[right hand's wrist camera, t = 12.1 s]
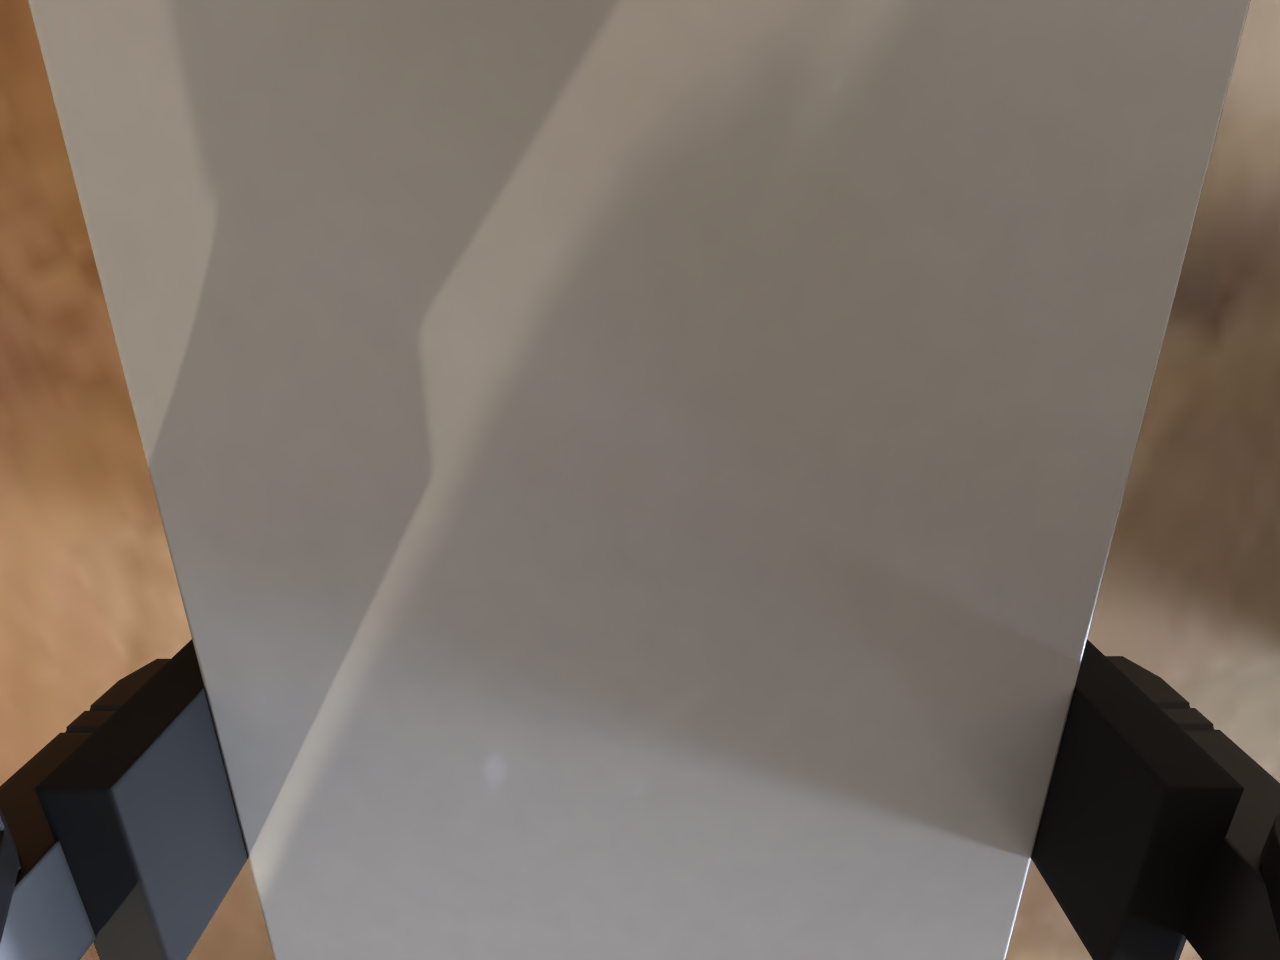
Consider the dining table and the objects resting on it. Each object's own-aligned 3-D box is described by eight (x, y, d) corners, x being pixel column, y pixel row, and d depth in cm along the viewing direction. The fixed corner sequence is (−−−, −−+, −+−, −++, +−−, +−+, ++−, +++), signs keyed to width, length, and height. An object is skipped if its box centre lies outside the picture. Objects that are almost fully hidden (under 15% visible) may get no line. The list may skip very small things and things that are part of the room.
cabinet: (358, -253, 13) (-340, -1417, 4) (921, -252, 13) (1620, -1423, 4) (450, 613, 19) (276, 976, 10) (829, 613, 19) (1003, 976, 10)
